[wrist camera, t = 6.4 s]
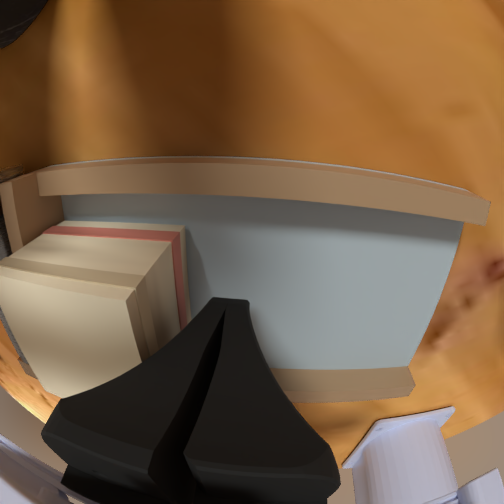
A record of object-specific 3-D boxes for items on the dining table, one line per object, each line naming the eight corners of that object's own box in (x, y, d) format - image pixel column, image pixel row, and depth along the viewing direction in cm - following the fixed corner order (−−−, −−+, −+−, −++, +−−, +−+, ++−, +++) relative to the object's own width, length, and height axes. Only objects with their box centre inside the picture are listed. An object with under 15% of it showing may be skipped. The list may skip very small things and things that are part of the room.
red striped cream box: (195, 345, 13) (167, 432, 8) (90, 326, 13) (45, 390, 9) (186, 224, 10) (126, 299, 6) (63, 219, 11) (-14, 270, 6)
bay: (398, 370, 14) (415, 416, 11) (92, 343, 15) (66, 383, 12) (463, 188, 10) (514, 214, 6) (51, 165, 10) (-2, 183, 7)
